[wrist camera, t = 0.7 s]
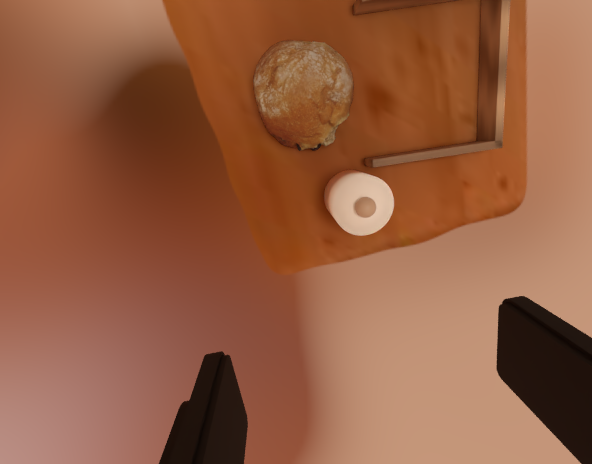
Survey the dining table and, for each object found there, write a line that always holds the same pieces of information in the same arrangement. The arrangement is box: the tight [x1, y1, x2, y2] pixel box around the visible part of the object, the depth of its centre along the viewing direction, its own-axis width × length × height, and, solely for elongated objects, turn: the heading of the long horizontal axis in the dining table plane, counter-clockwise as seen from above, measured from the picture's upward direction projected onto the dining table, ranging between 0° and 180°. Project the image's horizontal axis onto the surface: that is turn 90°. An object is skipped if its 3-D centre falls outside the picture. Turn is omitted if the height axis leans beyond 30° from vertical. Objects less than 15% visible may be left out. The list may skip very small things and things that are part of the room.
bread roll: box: [253, 40, 354, 151], centre depth 30 cm, size 10×10×8 cm
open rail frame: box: [353, 0, 510, 167], centre depth 31 cm, size 16×14×3 cm
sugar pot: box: [324, 170, 394, 235], centre depth 31 cm, size 6×6×8 cm
